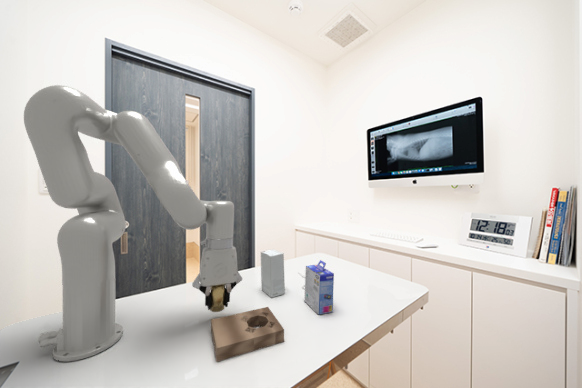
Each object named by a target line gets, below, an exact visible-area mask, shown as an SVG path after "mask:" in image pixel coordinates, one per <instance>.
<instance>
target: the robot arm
mask: <svg viewBox="0 0 582 388" xmlns="http://www.w3.org/2000/svg"><path fill="white" fill-rule="evenodd" d="M23 124H24V128H25V131H26V133H27V137H28V139H29V141H30V142H29V143H31V146H32V148H33V151H34V155H35V157H36V161H37V163H38V167H39V169H40V171H41V175H42V178H43V180H44V183H45V186H46V188H47V192H48V196H50V199H51V201H52V202H54V203H55V205H57V206H58V207H60V208H65V209H72V210H73V209H74V210H75V209H76V210H77V213H78V214H77V215H75V216H73V217H71V218H69V219H68V220H67V221H65V222H64V223H63V225H62V226H61V227H60V228H59V230H58V232H57V237H56V240H57V241H56V243H57V248H58V253H59V256H60V263H61V277H62V278H61V283H62V328H59V329H58V330H56V331H49V332H47V331H46V332H44V333H40V335H39V338H38V343H39V347H40V348H44V347H48V346H51V345H54V347H53V349H52V357H54V358H53V359H54V360H55V359H56V360H55V361H58V360H59V361H58V362H75V361H79V360H84V359H87V358H90V357H92V356H94V355H97V354H100V353H102V352H103V351H106V350H107V349H109V348H111V347H112V346H113V345H115V344H116V343H117V342H118V341H119V340H121V338H122V336H123V334H124V329H123V328H124V327H123V326H122V325H120V324H119V323H116V259H115V254H114V253H115V252H114V248H113V243H114V242H116V241H119V239H120V238H121V237H122V236H123V235H124V233H125V231H126V227H127V222H126V217H125V215H124V211H123V208H122V206H121V203H120V202H121V201H120V199H119V197H118V194H117V190H116V189H115V186H114V184H113V183H112V181H111V179H109V178H108V177H107V176H106V175H104V174H102V173H99V172H96V171H94V168H93V166H92V164H91V161H90V158H89V155H88V151H87V149H86V147H85V145H84V143H83V141H82V140H81V137H80V135H79V133H81V134H83V135H84V136H85V135H86V136H88V137H91V138H94V139H97V140H101V141H105V142H108V143H111V144H115V145H118V146H122V147H123V149H125V151H126V152H127V153H128V155H129V156H130V158H131V159H132V161H133V162H134V163H135V165H136V166H137V168H138V169H139V170H140V171H141V173H142V175H143V176H144V178H145V179H146V181H147V183H148V184H149V186H150V188H151V189H152V191H153V192H154V193H155V195H156V197H157V199H158V200H159V202H160V203H161V205H162V207H164V209H165V210H166V211H167V213H168V214H169V215H170V217H171V218H172V220H173V221H174V222H175V223H176V224H177V225H178V226H179V227H180V228H182V229H184V230H189V231H191V230H196V229H199V228H200V227H201V226H203V225H204V224H206V230H205V231H206V232H205V233H206V234H205V235H206V236H205V238H204V239H200V242H199V243H200V246H205V247H203V249H202V253H201V257H200V258H201V259H200V265H199V273H198V274H197V276H196V277H195V279H193V282H192V285H191V286H192V288H194V289H197V290H198V291H200V292H201V293H202V294H204V296H205V298H204V300H205V301H204V306H205V307H207V310H208V311H210V309H211V286H216V285H223V284H225V308H227V307H228V305H229V303H230V302H231V292H232V290H233V289H234V288H235V287H236V286H237V285H238V284H239V283H241V282H242V281H243V276H241V274H240V273H239V271H238V254H237V247H235V246H234V230H235V229H234V226H235V225H234V224H235V204H234V202H232V201H231V200H211V201H210V200H204V199H203V200H202V199H199V197H198V196H197V194H196V193H195V191H194V190H193V189H192V187H191V186H190V185H189V183H188V181H187V179H186V178H185V176H184V174H183V173H182V170H181V168H180V165H179V163H178V161H177V160H176V158H175V156H174V155H173V154H172V153H171V151H170V149H168V147H167V146H166V144H165V142H164V141H163V140H162V138H161V137H160V135H159V133H158V132H157V130H156V129H155V127H154V125H153V124H152V123H151V122H150V120H149V119H148V118H147V117H146V116H144V114H142V113H140V112H138V111H134V110H123V111H120V112H118V113H117V112H114V111H111V110H108V109H105V108H103V107H102V106H101V105H99V104H98V103H97V102H96V101H94V99H92V98H91V97H90V96H88V95H87V94H86V93H84V92H82V91H80V90H79V89H76V88H74V87H70V86H68V85H67V86H66V85H58V84H56V85H50V86H46V87H43V88H41V89H39V90H38V91H36V92H35V93H34V94H33V95H32V96H31V97H30V98H29V99H28V101H27V102H26V105H25V107H24V111H23Z"/></svg>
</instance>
